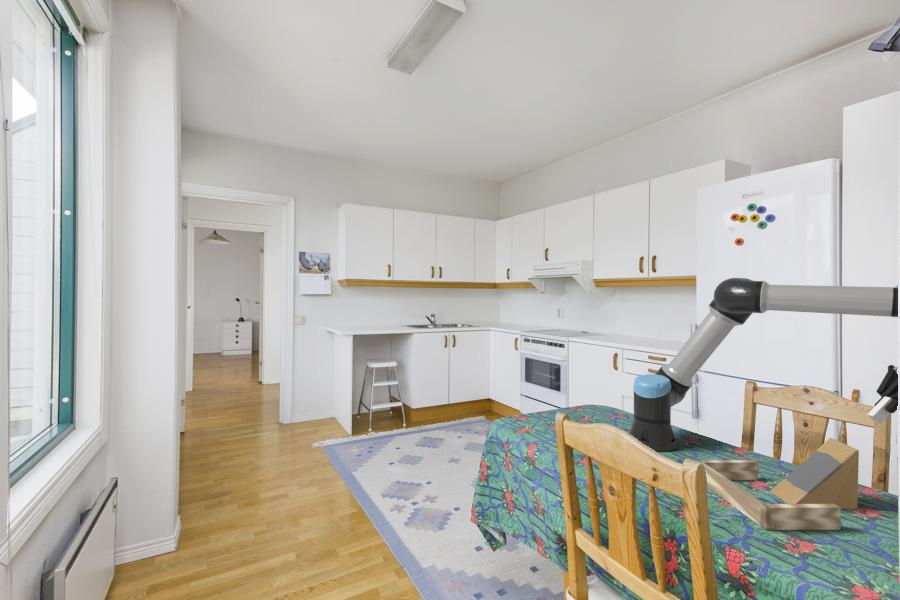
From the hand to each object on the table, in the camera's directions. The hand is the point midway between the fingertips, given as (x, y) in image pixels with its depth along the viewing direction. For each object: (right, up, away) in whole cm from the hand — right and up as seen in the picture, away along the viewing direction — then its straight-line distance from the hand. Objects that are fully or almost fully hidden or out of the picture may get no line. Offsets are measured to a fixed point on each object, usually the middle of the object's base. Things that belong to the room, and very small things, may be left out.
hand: (873, 419), depth 105 cm
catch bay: (-29, -21, +1) cm, 36 cm away
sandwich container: (-15, -21, +1) cm, 26 cm away
